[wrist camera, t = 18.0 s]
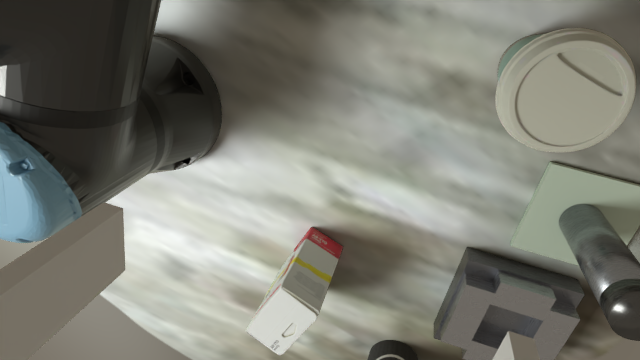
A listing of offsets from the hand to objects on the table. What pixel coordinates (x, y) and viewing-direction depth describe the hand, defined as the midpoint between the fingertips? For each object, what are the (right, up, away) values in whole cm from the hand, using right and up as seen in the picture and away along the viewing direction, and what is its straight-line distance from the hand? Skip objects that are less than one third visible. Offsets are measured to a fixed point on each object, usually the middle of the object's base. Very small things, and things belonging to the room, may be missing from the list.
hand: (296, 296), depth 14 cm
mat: (+27, 0, +29) cm, 39 cm away
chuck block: (+22, -11, +35) cm, 43 cm away
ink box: (0, -6, +39) cm, 40 cm away
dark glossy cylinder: (+27, 0, +28) cm, 39 cm away
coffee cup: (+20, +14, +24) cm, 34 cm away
